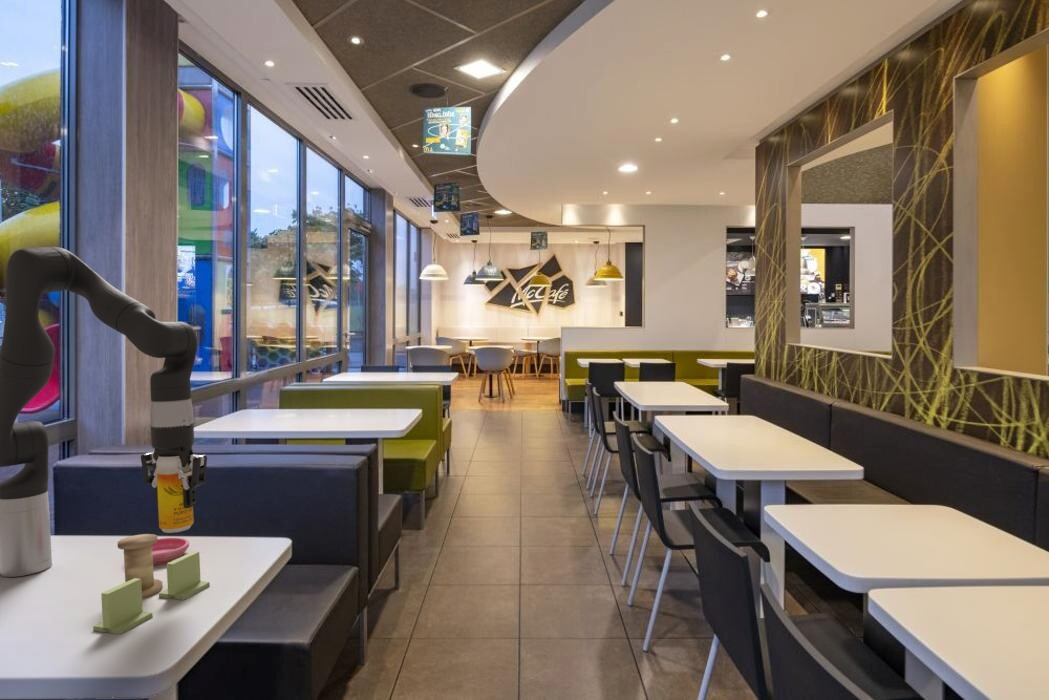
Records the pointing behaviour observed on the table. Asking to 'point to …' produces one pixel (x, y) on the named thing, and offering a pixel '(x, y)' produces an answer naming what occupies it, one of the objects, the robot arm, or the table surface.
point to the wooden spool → (140, 562)
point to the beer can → (172, 496)
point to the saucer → (168, 549)
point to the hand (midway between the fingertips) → (175, 505)
